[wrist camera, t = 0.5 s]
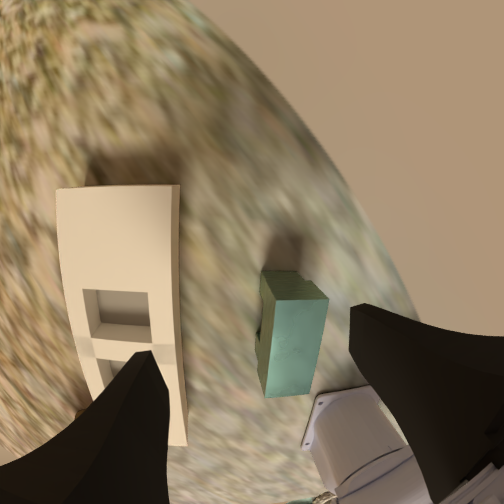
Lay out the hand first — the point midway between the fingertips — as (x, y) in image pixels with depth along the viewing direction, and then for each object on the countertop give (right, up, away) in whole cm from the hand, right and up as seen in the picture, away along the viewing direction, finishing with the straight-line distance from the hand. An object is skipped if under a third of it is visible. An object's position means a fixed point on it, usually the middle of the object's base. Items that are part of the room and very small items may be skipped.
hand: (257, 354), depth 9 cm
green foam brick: (+1, -1, +11) cm, 12 cm away
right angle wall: (+13, -39, +24) cm, 47 cm away
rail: (-9, -2, +10) cm, 14 cm away
